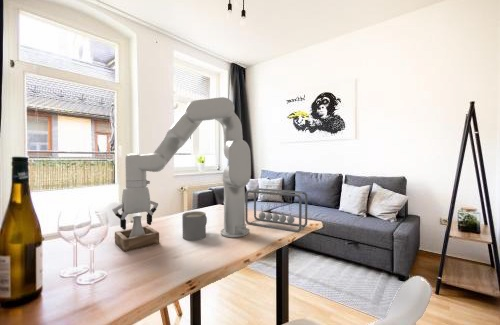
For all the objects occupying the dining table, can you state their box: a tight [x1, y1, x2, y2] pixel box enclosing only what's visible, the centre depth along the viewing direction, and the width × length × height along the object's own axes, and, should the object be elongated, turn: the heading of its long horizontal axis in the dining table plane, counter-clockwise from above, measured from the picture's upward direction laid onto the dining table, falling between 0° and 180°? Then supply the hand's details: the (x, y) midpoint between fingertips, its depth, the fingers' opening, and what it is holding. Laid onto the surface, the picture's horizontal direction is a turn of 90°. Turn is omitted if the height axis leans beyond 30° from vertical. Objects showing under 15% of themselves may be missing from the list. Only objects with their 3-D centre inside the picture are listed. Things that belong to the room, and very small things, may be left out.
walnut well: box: [114, 225, 160, 253], centre depth 98 cm, size 13×13×4 cm
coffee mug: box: [181, 210, 208, 241], centre depth 108 cm, size 13×10×10 cm
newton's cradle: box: [245, 187, 308, 233], centre depth 123 cm, size 30×10×18 cm, turn 60°
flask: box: [129, 215, 145, 238], centre depth 98 cm, size 7×7×10 cm
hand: (136, 226), depth 98 cm, fingers open, 9 cm apart
